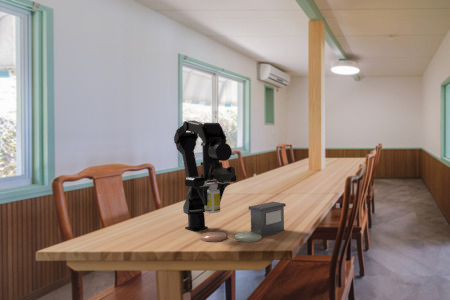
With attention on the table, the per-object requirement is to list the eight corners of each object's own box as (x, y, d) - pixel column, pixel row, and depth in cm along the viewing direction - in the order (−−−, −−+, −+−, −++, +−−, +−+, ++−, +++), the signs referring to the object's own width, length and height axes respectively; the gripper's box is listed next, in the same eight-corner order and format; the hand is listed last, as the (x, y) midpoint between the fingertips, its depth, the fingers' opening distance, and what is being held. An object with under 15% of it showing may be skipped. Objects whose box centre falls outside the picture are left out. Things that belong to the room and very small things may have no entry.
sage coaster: (229, 238, 128) (229, 235, 128) (248, 233, 134) (248, 230, 134) (248, 243, 121) (248, 240, 121) (266, 238, 127) (266, 235, 127)
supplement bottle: (220, 209, 131) (219, 182, 131) (220, 213, 126) (219, 184, 125) (204, 210, 131) (204, 182, 131) (204, 213, 126) (203, 184, 125)
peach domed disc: (195, 238, 129) (195, 235, 129) (215, 233, 135) (214, 230, 135) (211, 243, 122) (211, 240, 122) (231, 237, 128) (231, 235, 128)
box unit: (249, 234, 132) (248, 206, 131) (273, 228, 140) (273, 201, 140) (261, 237, 127) (260, 208, 127) (286, 230, 136) (285, 203, 135)
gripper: (204, 162, 116) (205, 212, 116) (247, 158, 128) (248, 203, 128) (183, 160, 124) (184, 207, 125) (225, 157, 136) (226, 199, 137)
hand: (212, 204), depth 128 cm, fingers closed on supplement bottle, 5 cm apart
